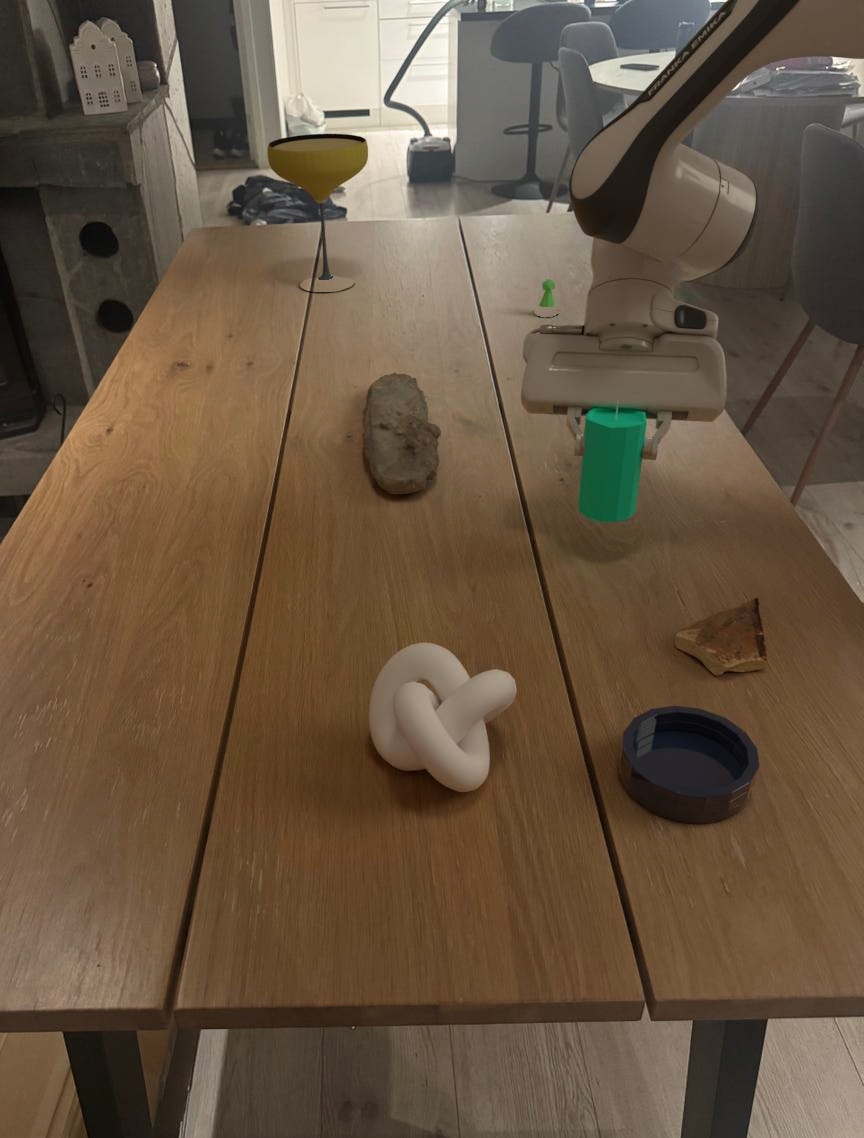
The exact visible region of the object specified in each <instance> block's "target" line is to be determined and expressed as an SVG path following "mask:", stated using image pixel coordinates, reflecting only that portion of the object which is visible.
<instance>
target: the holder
mask: <svg viewBox="0 0 864 1138" xmlns="http://www.w3.org/2000/svg"><path fill="white" fill-rule="evenodd" d="M758 750H759V749H758V747H757V746H756V744H755V743H754V741H753V740H752V739H751V738H750V736H749V735H748V733H747V732H746V731H745V730H744V729H742V728H741V727H740V726H739V725H737V724H735V723H733V722H732V721H731V720H730V719H728V718H727V717H725V716H722V715H720V714H717V713H714V712H712V711H708V710H706V709H703V708H699V707H691V706H683V705H669V706H663V707H655V708H650V709H649V710H646V711H645V712H642V713H641V714H639V715H637V716H634V717H633V719H632V720H631V721H630V723H629V724H628V725H627V727H626V728H625V729H624V731H623V733H622V738H621V744H620V750H619V751H620V752H619V753H620V754H619V761H618V774H619V779H620V781H621V784H622V785H623V788H624V790H625V791H626V792H627V794H628V795H629V797H631V798H632V799H633V800H634V802H636V803H637V804H639V805H640V806H641V807H643V808H644V809H646V810H648V811H649V812H651V813H653V814H655V815H658V816H659V817H662V818H664V819H667V820H669V821H670V820H671V821H673V822H679V823H684V824H692V825H693V824H694V825H707V824H713V823H718V822H722V821H725V820H727V819H730V818H732V817H734V816H735V815H736V814H738V813H739V812H740V811H742V810H743V809H744V807H746V805H747V803H748V802H749V799H750V797H751V794H752V791H753V789H754V786H755V785H756V781H757V777H758V774H759V770H760V759H759V751H758Z"/></svg>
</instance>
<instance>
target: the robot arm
mask: <svg viewBox="0 0 864 1138" xmlns="http://www.w3.org/2000/svg"><path fill="white" fill-rule="evenodd" d="M811 57H813V58H814V57H815V58H816V57H824V58H825V57H829V58H841V59H852V60H864V0H726V1H725V2H724V3H723V4H722V5H721V6H720V8H719V9H718V10H717V11H716V12H715V13H714V14H713V15H712V16H711V17H710V18H709V19H708V21H706V22H705V24H704V25H703V26H702V27H701V28H700V29H699V30H698V31H697V32H696V34H695V35H694V36H693V37H692V38H691V39H689V41H688V42H687V43H686V44H685V46H683V47H682V49H681V50H680V51H679V52H678V53H677V54H676V55H675V56H674V57H673V58H672V60H671V61H670V62H669V63H668V64H667V65H666V66H665V67H664V68H663V70H662V71H661V72H660V73H659V74H658V75H657V76H656V77H655V78H654V79H653V80H652V81H651V82H650V84H648V86H647V87H646V88H645V89H644V90H643V91H642V93H641V94H640V95H639V96H638V97H637V98H636V99H635V100H634V101H633V102H631V103H630V105H628V107H626V108H625V109H624V110H623V111H622V112H621V113H619V114H618V115H617V116H615V117H614V118H613V119H612V120H611V121H610V122H608V123H606V124H605V126H603V127H602V128H601V129H600V130H599V131H597V132H596V133H595V135H593V136H592V137H591V138H590V139H589V140H588V142H587V143H586V145H585V146H584V147H583V148H582V150H581V152H580V153H579V155H578V156H577V158H576V160H575V163H574V165H573V168H572V170H571V173H570V176H569V181H568V183H569V184H568V192H569V199H570V200H569V201H570V204H571V208H572V211H573V215H574V217H575V220H576V222H577V223H578V226H579V227H580V230H581V231H582V232H583V234H584V235H586V236H588V237H591V238H592V243H591V253H590V267H591V272H592V279H591V280H592V281H591V284H590V286H589V288H588V291H587V294H586V303H585V312H584V322H583V325H582V324H576V325H575V324H566V325H564V324H563V325H554V324H541V325H540V326H539V327H538V328H534V329H532V330H531V331H530V332H528V333H527V335H526V336H525V338H524V340H523V349H522V357H523V360H524V362H525V363H526V365H525V368H524V373H523V378H522V384H521V389H520V402H521V405H522V407H523V408H524V410H525V411H526V412H527V413H529V414H534V415H535V414H537V415H552V416H553V415H554V416H555V415H557V416H566V426H567V428H568V430H569V432H570V434H571V436H572V438H573V439H574V441H575V442H574V457H582V456H583V455H584V447H585V435H584V433H583V432H582V429H581V428H580V425H581V424H582V423H581V420H582V417H586V414H587V413H588V412H589V411H590V410H591V409H592V408H594V407H609V408H616V407H617V400H618V401H619V403H618V408H631V409H636V410H639V411H642V412H645V413H646V420H655V429H656V431H655V432H654V434H653V435H652V437H645V440H644V447H643V449H642V460H646V461H647V460H648V461H649V460H650V461H656V460H657V457H658V451H659V450H658V448H659V444H660V443H661V442H662V440H663V438H664V437H665V436H666V434H667V433H668V432H669V431H670V429H671V425H672V421H681V422H701V423H703V422H704V423H712V422H714V421H715V420H717V419H718V418H719V417H720V416H721V415H722V413H723V412H724V409H725V406H726V402H727V392H728V391H727V389H728V385H727V384H728V383H727V382H728V381H727V380H728V379H727V365H726V357H725V352H724V349H723V347H722V345H721V343H720V342H718V341H717V337H718V332H719V316H718V314H716V312H713V311H712V310H711V311H710V310H708V309H705V308H701V307H700V306H699V307H698V306H697V305H696V306H695V305H692V304H690V303H686V302H684V301H681V300H679V299H676V298H675V289H676V287H677V286H678V285H679V284H680V283H681V282H684V283H689V282H694V281H697V280H699V279H703V278H704V277H707V276H709V275H711V274H714V273H716V272H718V271H721V270H723V269H724V268H727V266H729V265H731V264H732V263H733V262H735V261H736V260H737V259H738V258H739V257H741V255H742V254H743V253H744V252H745V251H746V249H747V248H748V246H749V244H750V242H751V240H752V237H753V235H754V232H755V229H756V224H757V221H758V216H759V194H758V190H757V189H758V188H757V187H756V184H755V182H754V181H753V179H752V178H751V177H749V176H746V175H745V174H744V173H743V172H741V171H739V170H737V169H735V168H733V167H732V166H729V165H727V164H726V163H723V162H721V161H719V160H717V159H716V158H714V157H711V156H708V155H705V154H703V153H702V152H700V151H697V150H695V149H694V148H691V147H689V146H687V145H685V144H683V143H682V142H683V140H685V139H686V138H687V137H688V136H689V135H690V134H691V133H692V131H694V130H695V129H696V128H697V127H698V126H699V125H700V124H701V123H702V121H704V120H705V119H706V118H707V116H708V115H710V114H711V112H713V110H715V108H716V107H718V105H720V103H722V102H723V100H724V99H726V98H727V96H728V95H730V93H732V91H734V89H735V88H736V87H737V86H739V84H740V83H741V82H742V81H743V80H744V79H746V78H747V77H748V76H750V75H752V74H753V73H754V72H755V71H759V70H760V69H762V68H763V67H766V66H768V65H771V64H773V63H776V62H777V63H778V62H781V61H785V60H790V59H798V58H811Z"/></svg>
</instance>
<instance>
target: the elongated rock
mask: <svg viewBox="0 0 864 1138" xmlns="http://www.w3.org/2000/svg"><path fill="white" fill-rule="evenodd" d="M365 398H366V405H365V408H363V409H362V411H361V412H362V415H363V416H364V422H363V433H362V437H363V438H362V443H363V447H362V449H363V452H364V456H365V459H366V461H367V462H368V463H369V470H371V471H370V473H371V475H372V477H373V479H374V480H375V481H376V483H377V485H379V487H380V488H381V489H382V490H384V491H386V492H387V493H388V494H391V495H407V494H412V493H417V492H418V491H424V490H425V489H426V487H427V486H428V483H429V480H431V481H434V480H435V478H437V477H436V476H437V470H438V467H439V465H440V461H441V460H440V457H439V454H438V453H439V452H438V446H439V441H438V439H439V438H440V437H441V435H442V431H441V428H440V426H439V425H437V424H436V423H431V422H430V421H429V410H428V405H427V404H428V403H427V401H426V398H425V395H424V390H422V389H421V388H420V387H419V385H418V380H417V377H412V376H411V375H408V374H406V373H396V372H393V373H391V374H384V375H382V376H380V377H379V378H378V379H376V380H375V381H373V382H372V383H371V384H370V385H369V388H368V389H367V394H366V397H365Z"/></svg>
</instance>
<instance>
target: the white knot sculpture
mask: <svg viewBox="0 0 864 1138" xmlns="http://www.w3.org/2000/svg"><path fill="white" fill-rule="evenodd" d="M421 680H425V681H427V682H428V683H429V684H430V685H431V686H432V687H433V689H434V690H435V692H436V694H437V696H438V697H437V696H436V694H434V693H433V691H432V690H431V689H430V688H428V687H427V686H426V685H425V684H424V683H420V682H419V681H421ZM517 692H518V689H517V684H516V679H515V678H514V677H513V676H512V675H511V674H510V673H509V672H508V671H505V670H502V669H499V668H495V669H489V670H486V671H482V672H479V673H478V674H476V675H474V676H473V677H470V675H469V674H468V672H467V670H466V669H465V668H464V665H463V664H462V663H461V661H460V660H459V659H458V658H457V656H456V655H455V654H454V653H452V652H451V651H450V650H448V649H447V648H446V647H444V646H441V645H439V644H435V643H432V642H417V643H413V644H409V645H408V646H406V647H404V648H401V649H400V650H399V651H397V652H396V653H394V654H393V655H392V656H391V657H390V658H389V659H388V661H387V662H386V663H385V664H384V665H383V667H382V668H381V669H380V672H379V673H378V675H377V677H376V678H375V682H374V684H373V687H372V690H371V694H370V699H369V703H368V726H369V734H370V738H371V739H372V740H371V741H372V743H373V745H374V747H375V749H376V751H377V753H378V754H379V755H380V757H381V758H382V759H383V760H384V761H386V762H387V763H389V764H390V766H392V767H394V768H395V769H397V770H401V771H404V772H405V771H406V772H409V771H421V770H422V771H423V770H426V771H427V773H428V774H430V775H431V776H432V777H433V778H434V779H435V780H436V781H437V782H439V783H440V784H441V785H443V786H445V787H446V788H449V789H451V790H453V791H455V792H458V793H467V792H474V791H475V790H478V788H479V787H481V786H482V785H483V784H484V783H485V781H487V778H488V777H489V776H488V775H489V773H490V762H491V756H490V752H491V751H490V743H489V737H488V732H487V726H486V724H488V723H489V722H491V721H492V720H494V719H495V718H496V717H498V716H499V715H501V714H502V713H503V712H504V711H505V710H507V709H508V708H509V707H510V706H511V705H512V704H513V703H514V701H515V699H516V696H517Z"/></svg>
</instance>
